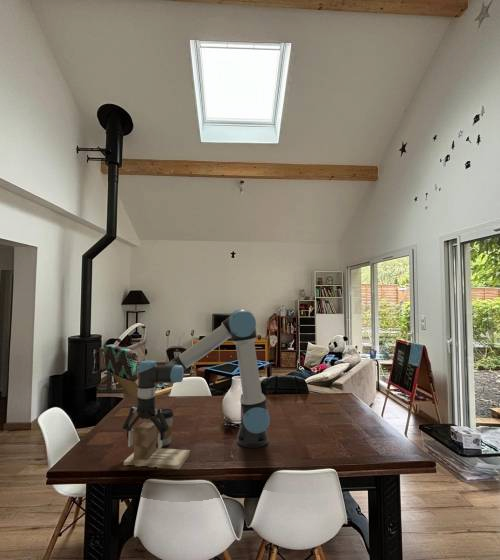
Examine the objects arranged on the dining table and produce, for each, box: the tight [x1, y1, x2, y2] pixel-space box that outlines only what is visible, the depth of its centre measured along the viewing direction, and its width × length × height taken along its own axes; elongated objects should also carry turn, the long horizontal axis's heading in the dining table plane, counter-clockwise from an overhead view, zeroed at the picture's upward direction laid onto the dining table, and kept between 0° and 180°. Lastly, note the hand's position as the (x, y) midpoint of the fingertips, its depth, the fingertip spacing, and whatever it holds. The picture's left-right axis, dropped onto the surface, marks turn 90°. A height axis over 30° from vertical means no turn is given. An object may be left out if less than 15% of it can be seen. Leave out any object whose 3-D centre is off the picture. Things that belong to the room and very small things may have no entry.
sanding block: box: [133, 421, 157, 460], centre depth 142 cm, size 6×9×12 cm, turn 172°
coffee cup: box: [155, 408, 174, 447], centre depth 157 cm, size 8×8×15 cm
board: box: [123, 447, 191, 470], centre depth 140 cm, size 24×14×2 cm, turn 82°
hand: (145, 446), depth 141 cm, fingers open, 13 cm apart
